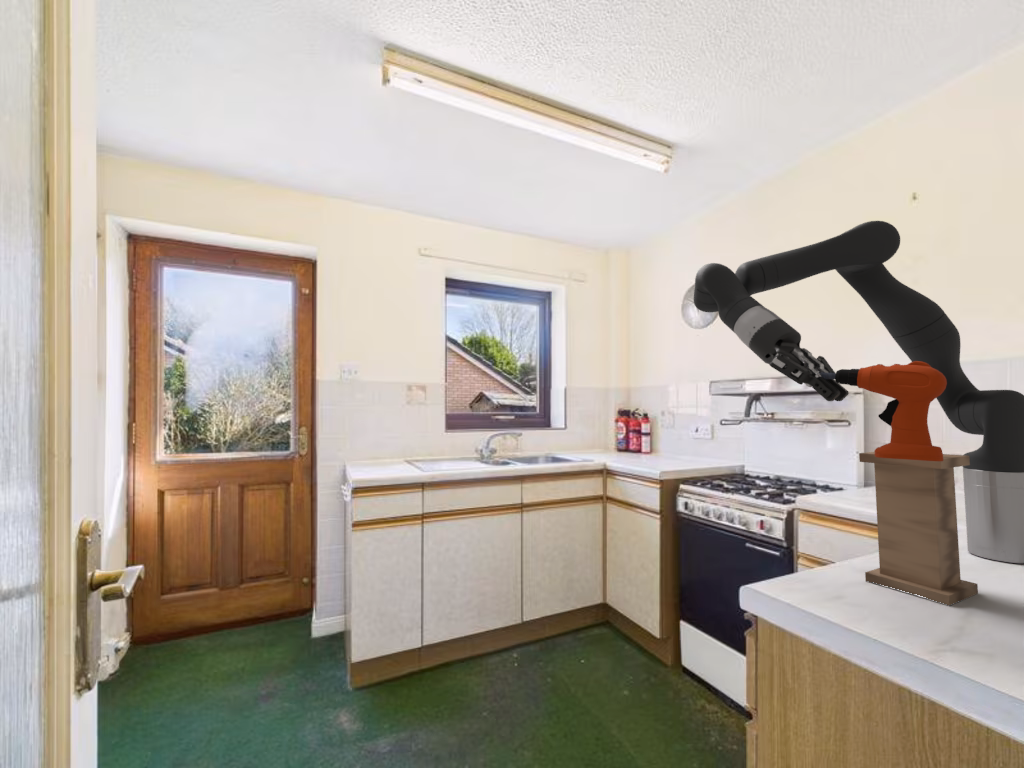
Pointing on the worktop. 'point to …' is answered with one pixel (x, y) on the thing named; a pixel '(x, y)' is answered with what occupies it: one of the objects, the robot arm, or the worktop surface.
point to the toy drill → (901, 405)
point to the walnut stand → (918, 527)
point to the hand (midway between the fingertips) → (839, 397)
